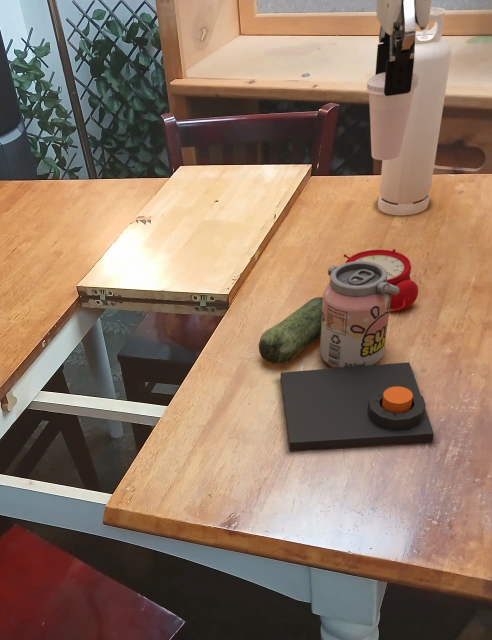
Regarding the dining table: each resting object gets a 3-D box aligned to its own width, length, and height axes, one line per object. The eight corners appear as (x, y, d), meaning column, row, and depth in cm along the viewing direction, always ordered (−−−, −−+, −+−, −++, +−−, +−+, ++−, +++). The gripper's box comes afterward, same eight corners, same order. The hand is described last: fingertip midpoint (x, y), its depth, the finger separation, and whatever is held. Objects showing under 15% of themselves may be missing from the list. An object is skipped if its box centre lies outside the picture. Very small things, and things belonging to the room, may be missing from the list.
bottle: (427, 192, 126) (455, 1, 106) (430, 214, 121) (460, 16, 101) (377, 195, 128) (396, 8, 108) (378, 216, 123) (398, 23, 103)
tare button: (408, 395, 86) (409, 385, 85) (413, 412, 84) (415, 402, 83) (379, 398, 87) (381, 387, 86) (384, 414, 85) (385, 404, 83)
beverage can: (349, 328, 102) (356, 247, 93) (402, 349, 97) (415, 265, 88) (306, 359, 99) (309, 278, 90) (358, 382, 93) (366, 298, 85)
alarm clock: (405, 242, 108) (432, 270, 96) (402, 284, 112) (427, 316, 99) (333, 250, 110) (349, 279, 98) (332, 292, 114) (348, 324, 101)
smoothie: (398, 142, 105) (409, 29, 95) (418, 157, 100) (432, 40, 90) (354, 152, 105) (361, 40, 95) (372, 168, 100) (382, 52, 90)
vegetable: (282, 376, 97) (282, 344, 93) (251, 363, 100) (250, 331, 96) (344, 327, 102) (347, 295, 99) (313, 316, 105) (315, 284, 102)
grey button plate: (408, 370, 93) (411, 351, 91) (432, 442, 84) (436, 422, 82) (280, 380, 96) (280, 361, 94) (289, 451, 87) (289, 432, 84)
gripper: (461, -82, 77) (436, 102, 89) (428, -105, 89) (410, 61, 101) (386, -68, 78) (372, 111, 91) (363, -93, 90) (353, 69, 103)
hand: (392, 83), depth 96 cm, fingers closed on smoothie, 6 cm apart
